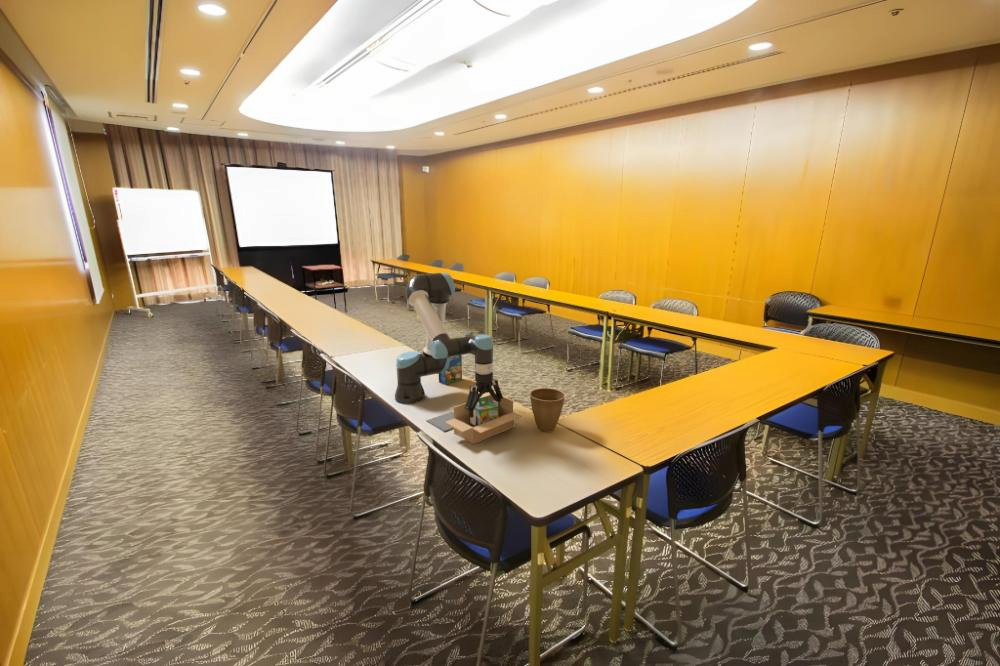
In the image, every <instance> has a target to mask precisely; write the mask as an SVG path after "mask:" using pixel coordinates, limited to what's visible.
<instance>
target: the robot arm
mask: <svg viewBox="0 0 1000 666" xmlns="http://www.w3.org/2000/svg"><path fill="white" fill-rule="evenodd" d="M454 282H455V281H454V278H452V275H450V274H449V273H448V272H433V273H419V274H416V275H414V276H412V277H411V278H410V280H409V281H408V282H407V285H406V288H405V297H406V299H407V302H408V304H409V305H410V306H411V307H413V309H414V311H415V313H416V315H417V316H418V318H419V320H420V322H421V324H422V326H423V328H424V330H425V332H426V340H425V341H426V345H425V346H424V347H423V349H422V353H419V351H407V352H403V353H401V354H399V355H398V356H397V357H396V365H395V367H396V379H397V386H396V389H395V393H394V400H395V401H396V402H397V403H399V404H415V403H418V402H422V401H423V400H424V399H425V398H426V393H425V389H424V387H423V384H422V379H421V378H422V377H426V376H431V375H437V374H438V375H439V373H442V372H445V371H446V370H447V369H448V367H449V357H452V356H458V355H462V356H464V355H469V354H471V355H473V356H474V371H475V373H474V378H475V379H474V380H475V385H470V386H469V392H468V396H467V398H466V401H465V403H466V405H465V409H467V410H469V417H470V423H471V424H473V425H476V410H474V409H475V407H476V405H477V403H478V401H479V399H480V398H482V397H483V395H485V394H488V393H489V395H491V396H492V397H493V398H494V400H493V404H494V405H496V406H497V407H498V408H499V402H501V399H502V398H503V397H504V396H503V394H502V391H501V388H500V386H499V380H498V379H495V378H494V340H493V337H492V335H490V334H477V335H475V334H471V333H464V334H463V335H461V336H460V337H458V338H455V337H450V336H449V334H448V332H447V330H446V328H445V325H446V310H447V309H446V308H447V304H448V303H450V300H451V299H450V298H451V297H454V295H455V293H456V286H455V283H454ZM450 338H452V339H450Z"/></svg>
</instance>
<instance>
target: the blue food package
mask: <svg viewBox="0 0 1000 666" xmlns="http://www.w3.org/2000/svg"><path fill="white" fill-rule="evenodd" d="M452 338H453V337H450V339H452ZM454 338H459V337H458V336H455V337H454ZM462 357H463V355H458V356H452V357H449V367H448V369H447V370H446V371H445V372H442V373H439V374H438V382H439V383H440V384H442V385H444V384H445V385H450V384H453V383H456V382H459V381H462V380H463V361H462V360H463V359H462Z"/></svg>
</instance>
